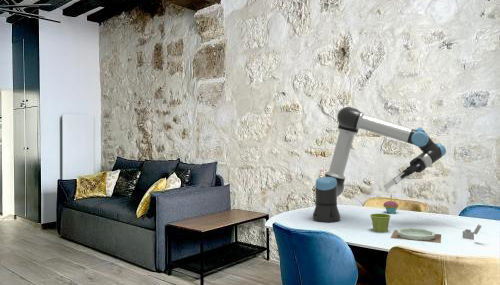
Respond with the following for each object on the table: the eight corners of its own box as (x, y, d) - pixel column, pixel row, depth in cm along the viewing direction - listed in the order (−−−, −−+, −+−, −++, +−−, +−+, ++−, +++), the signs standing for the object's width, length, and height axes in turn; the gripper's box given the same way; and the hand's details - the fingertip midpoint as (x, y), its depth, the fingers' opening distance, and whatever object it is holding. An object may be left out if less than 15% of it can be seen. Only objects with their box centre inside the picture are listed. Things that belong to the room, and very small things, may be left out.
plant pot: (380, 236, 178) (380, 218, 177) (366, 232, 186) (365, 214, 186) (395, 234, 182) (395, 216, 182) (380, 230, 190) (380, 212, 190)
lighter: (462, 241, 168) (462, 223, 168) (463, 240, 170) (463, 222, 169) (481, 244, 164) (481, 225, 164) (481, 243, 165) (481, 224, 165)
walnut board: (390, 241, 170) (390, 237, 170) (394, 233, 184) (394, 230, 184) (440, 246, 160) (440, 243, 160) (441, 237, 175) (441, 234, 175)
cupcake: (399, 214, 229) (399, 194, 229) (384, 213, 230) (384, 193, 230) (397, 211, 237) (396, 192, 237) (382, 211, 239) (382, 192, 239)
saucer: (396, 238, 169) (396, 234, 169) (400, 230, 182) (400, 227, 182) (434, 242, 162) (434, 237, 162) (435, 234, 175) (435, 230, 175)
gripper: (437, 161, 189) (405, 184, 184) (414, 175, 213) (385, 195, 208) (427, 149, 191) (395, 172, 186) (405, 164, 214) (376, 184, 210)
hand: (390, 184), depth 197 cm, fingers open, 13 cm apart
